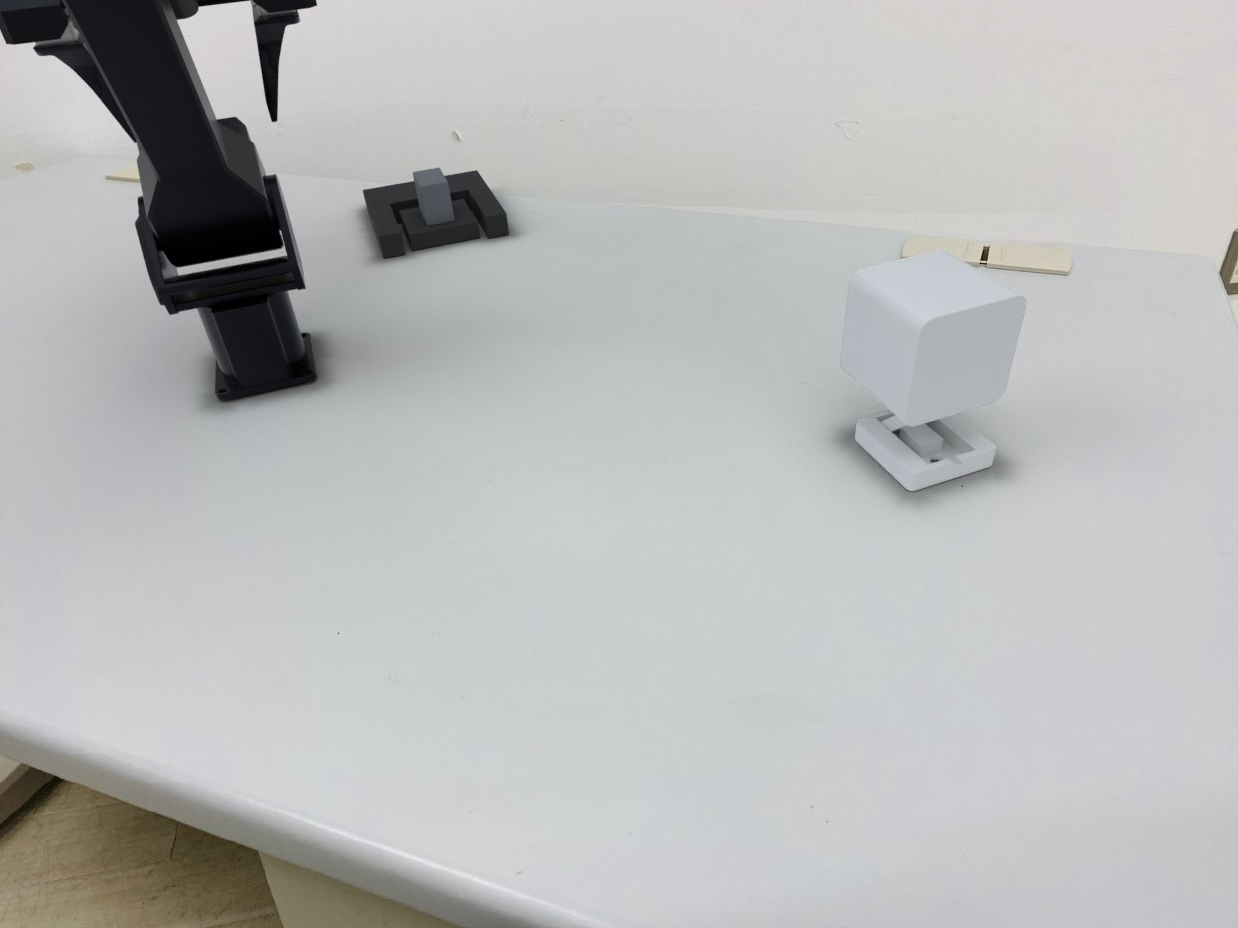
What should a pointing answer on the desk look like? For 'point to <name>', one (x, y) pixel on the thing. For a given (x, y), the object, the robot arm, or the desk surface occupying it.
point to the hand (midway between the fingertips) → (207, 131)
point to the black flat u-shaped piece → (404, 196)
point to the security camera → (929, 361)
